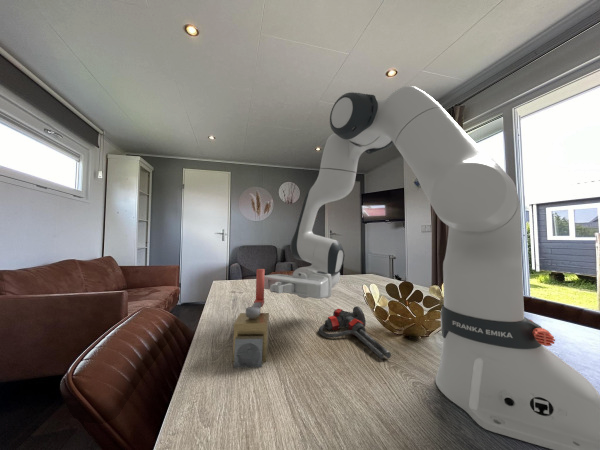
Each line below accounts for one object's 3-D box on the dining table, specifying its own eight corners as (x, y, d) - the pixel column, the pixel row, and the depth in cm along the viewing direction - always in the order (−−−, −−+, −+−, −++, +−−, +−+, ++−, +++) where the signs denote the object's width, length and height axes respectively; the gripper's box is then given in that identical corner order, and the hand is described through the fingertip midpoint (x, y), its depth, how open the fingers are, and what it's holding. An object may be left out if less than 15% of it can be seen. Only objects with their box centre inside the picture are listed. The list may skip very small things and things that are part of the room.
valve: (310, 328, 73) (352, 318, 76) (347, 382, 47) (407, 362, 51) (307, 309, 72) (350, 299, 76) (344, 352, 47) (404, 335, 51)
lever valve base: (265, 367, 46) (266, 324, 47) (230, 367, 46) (232, 325, 46) (268, 342, 57) (269, 308, 58) (240, 343, 57) (241, 308, 57)
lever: (258, 317, 51) (260, 275, 51) (244, 317, 51) (245, 275, 51) (266, 303, 62) (267, 269, 63) (254, 303, 62) (255, 268, 63)
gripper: (279, 268, 74) (246, 272, 63) (336, 274, 62) (308, 281, 51) (279, 287, 73) (245, 295, 62) (336, 298, 61) (307, 310, 50)
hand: (274, 289), depth 56 cm, fingers closed
